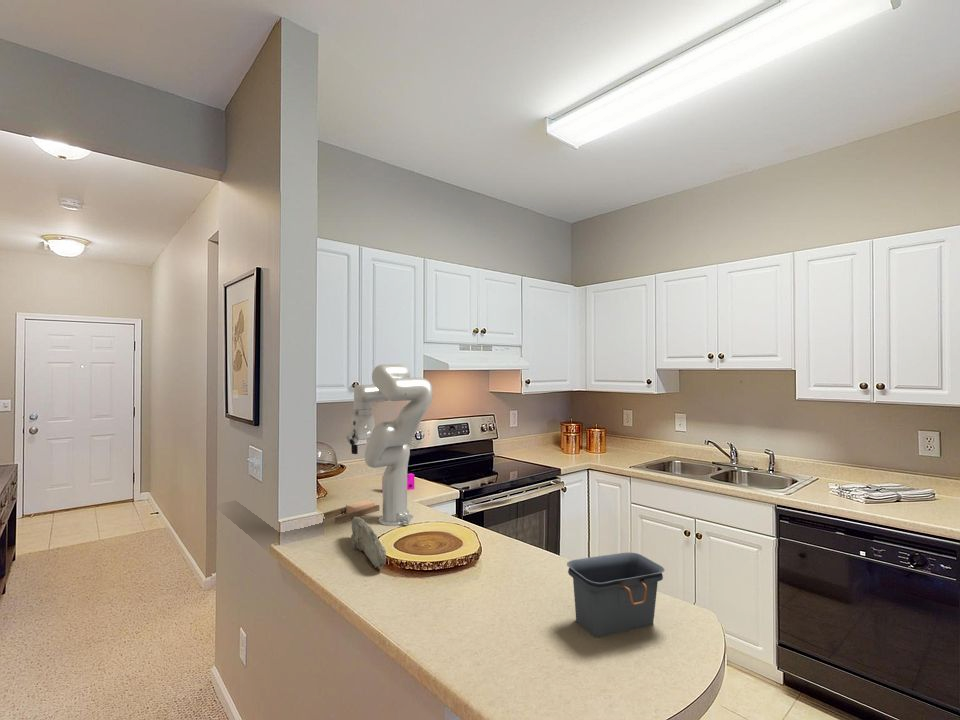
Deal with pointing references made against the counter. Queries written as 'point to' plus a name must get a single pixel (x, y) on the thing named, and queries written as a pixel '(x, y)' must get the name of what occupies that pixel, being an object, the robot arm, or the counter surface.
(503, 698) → the counter surface
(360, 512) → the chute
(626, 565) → the storage bin
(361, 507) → the block
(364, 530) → the elongated rock
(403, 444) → the robot arm
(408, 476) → the toy block
